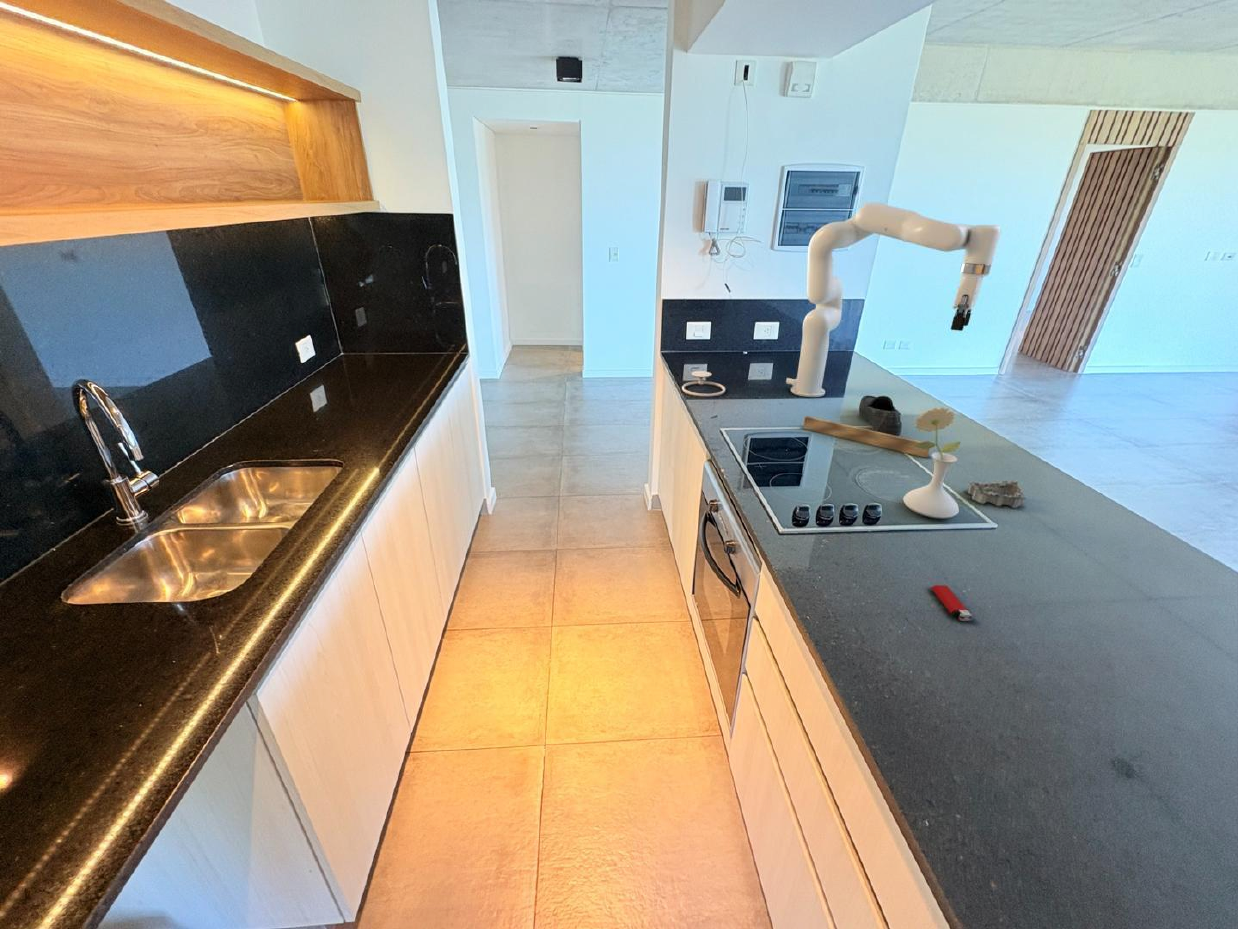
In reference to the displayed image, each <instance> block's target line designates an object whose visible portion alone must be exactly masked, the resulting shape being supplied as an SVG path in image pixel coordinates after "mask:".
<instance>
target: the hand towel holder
mask: <svg viewBox="0 0 1238 929" xmlns="http://www.w3.org/2000/svg"><path fill="white" fill-rule="evenodd" d="M691 376H692V377H695V378H698V380H697V381H696V380H695V381H689V382H687V383H684V384H683V385H682V386H681V390H682V392H684V394H686V395H689V396H693V397H701V398H712V397H718V396H721V395H723V394H724V393H725V392H726V387H725V386H724V385H722V384H721V383H717V382H714V381H707V380H705V381H704V378H705V379H706V378H710V377H711V376H712V373H711V372H709V371H705V370H697V371H696V370H695V371H693V372H691ZM694 385H699V386H703V385H709V386H715V387H718V388H720V389H722V390H721V391H718V392H713V393H699V392H693V391H690V390H687V389H686V387H689V386H694Z"/></svg>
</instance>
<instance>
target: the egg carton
mask: <svg viewBox="0 0 1238 929" xmlns="http://www.w3.org/2000/svg"><path fill="white" fill-rule="evenodd" d="M967 493H968V495H971V499H972V500H973V501H975V502H978V503H979V504H983V505H985V504H986V503H991V504H993V505H995V506H997V507H998V506H999V507H1001V506H1002V505H1006V506H1010V508H1013V509H1014V508H1015V509H1018V508H1019V507H1021V506H1022V504H1023V502H1024V500H1026V499H1027V498H1026V495H1024V493H1023V492H1021V487H1020V486H1019V483H1018V481H1014V480H1003V481H1002V482H997V481H994V482H986V481H979V482H977V481H971V480H969V487H968V491H967Z"/></svg>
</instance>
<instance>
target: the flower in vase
mask: <svg viewBox="0 0 1238 929" xmlns="http://www.w3.org/2000/svg"><path fill="white" fill-rule="evenodd" d="M949 410H950V408H949V407H940V408H938V407H933V408H932V410H931V409H929V410H927V411H925V412H924V413H921V414H919V417H917V418H916V419H915V420H914V421H915V422H914V424H915V429H918V430H919V431H923V432H929V433H931V432H933V431H934V432H935V442H932V441H930V440H929V441H927V440H926V441H921V443H919V444H917V445H916V446H914V447H918V448H922V449H929V450H931V449H933V448H935V447H936V448H937V451H938V452H932V453H931V457H932V460H933V464H934V469H933V474H932V477H931V481H930V482H929V483H928V484H927V485H925V486H922V487H921V486H920V487H918V488H915V489H912V490H910V491H908V492H906V494H905V495H904V496H903V497H902V498H903V499H902V500H903V502H904V504H905V506H906V507H907V508H908V509H909V510H911V511H912V512H913V513H914V512H915V513H916V514H918V515H921V516H924V517H928V518H934V519H950V518H953V517H955V516H956V515H958V513H959V512H960V509H959V505H958V503H957V501H956V500H955V499H954V498H953V497H952V496H951V494H949V493H948V491H946V490H945V489H944V481H945V480H944V479H945V476H946V474H947V473H948V470H949V469H950V467H951V466H952V464H954V463H956V462H957V461H958V457H956V456H955V455H952V454H950V453H952V452H955V451H956V450H957V449H958V448H959V446H960V445H961V441H957V442H951V443H946V444H944V445H943V446H942V448H941V449H940V446H939V444H938V431H939V430H944V429H945V428H946V427H948V426H950V425H951V424H953V423H954V420H955V415H956V414H955V411H953V410H950V411H949Z"/></svg>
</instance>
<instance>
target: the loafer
mask: <svg viewBox="0 0 1238 929" xmlns="http://www.w3.org/2000/svg"><path fill="white" fill-rule="evenodd" d="M858 414H859V415H860V417H861V418H862V419H863V420H864V421H866V422H868V423H870V424H871V425H872V431H876V432H881V433H885V434H890V435H894V436H899V437H900V435H901V433H902V428H903V427H902V426H903V425H902V421H901V415H902V413H901V412H900V411H899V410H898V409H896V407H895V406H894V402H893V400H892V398H891V397H889V396H886V395H878V396H873V395H864V396H863V397H862V398H861V400H860V402H859V405H858Z"/></svg>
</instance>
